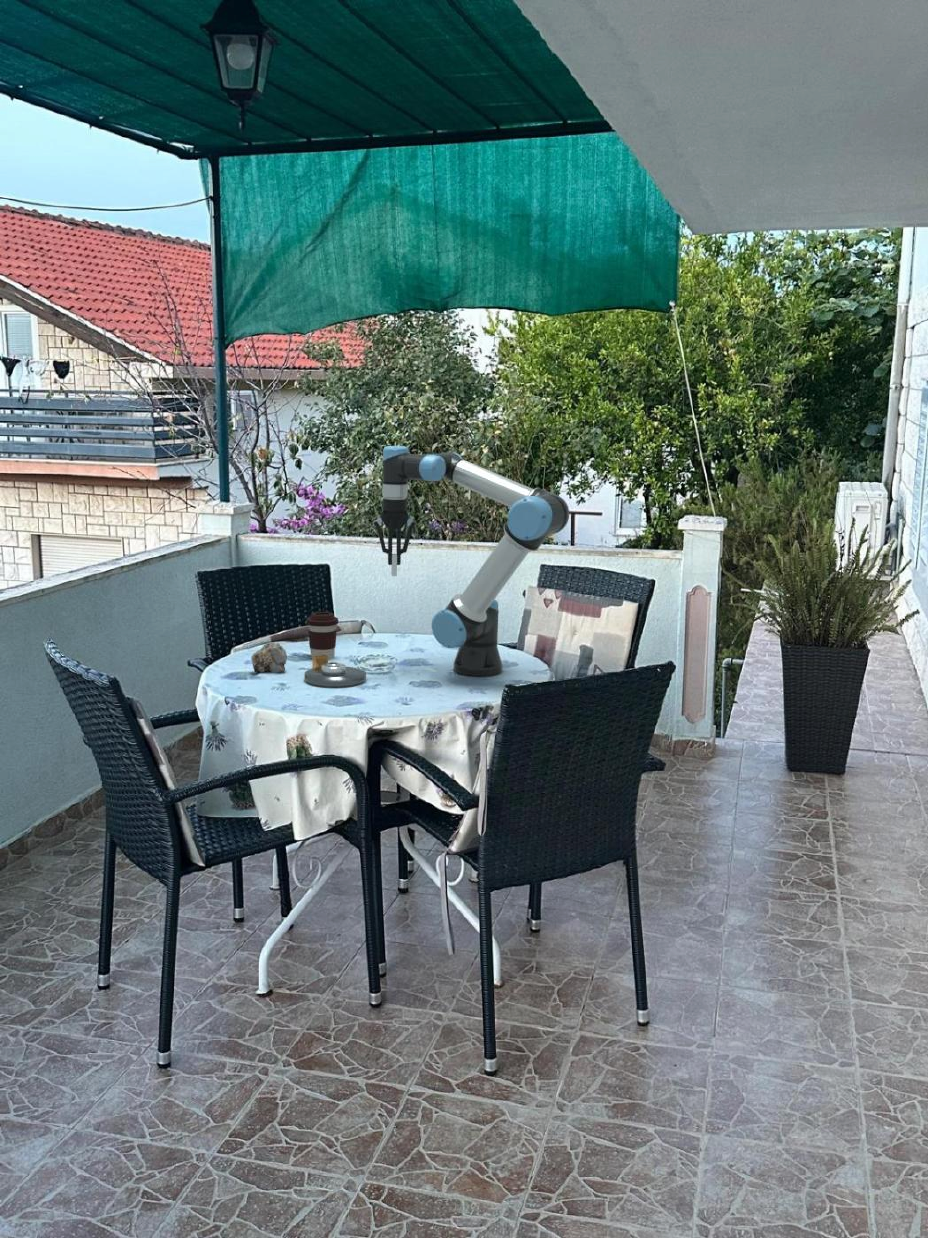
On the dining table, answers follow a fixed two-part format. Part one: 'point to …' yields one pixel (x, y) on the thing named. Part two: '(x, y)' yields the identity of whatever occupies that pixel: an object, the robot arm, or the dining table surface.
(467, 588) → the robot arm
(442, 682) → the dining table surface
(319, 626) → the coffee cup
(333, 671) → the cover
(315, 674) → the turntable
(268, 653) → the rock
